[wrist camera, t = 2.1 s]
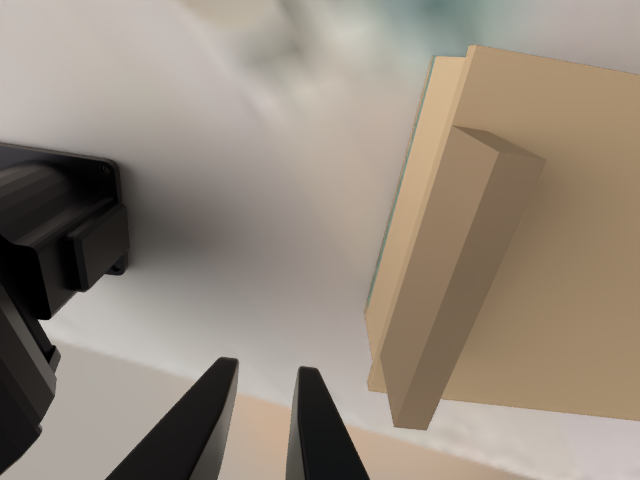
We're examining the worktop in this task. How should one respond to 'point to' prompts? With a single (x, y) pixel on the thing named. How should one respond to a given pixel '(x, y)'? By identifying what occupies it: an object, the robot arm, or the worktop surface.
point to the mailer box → (411, 188)
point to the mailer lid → (523, 248)
